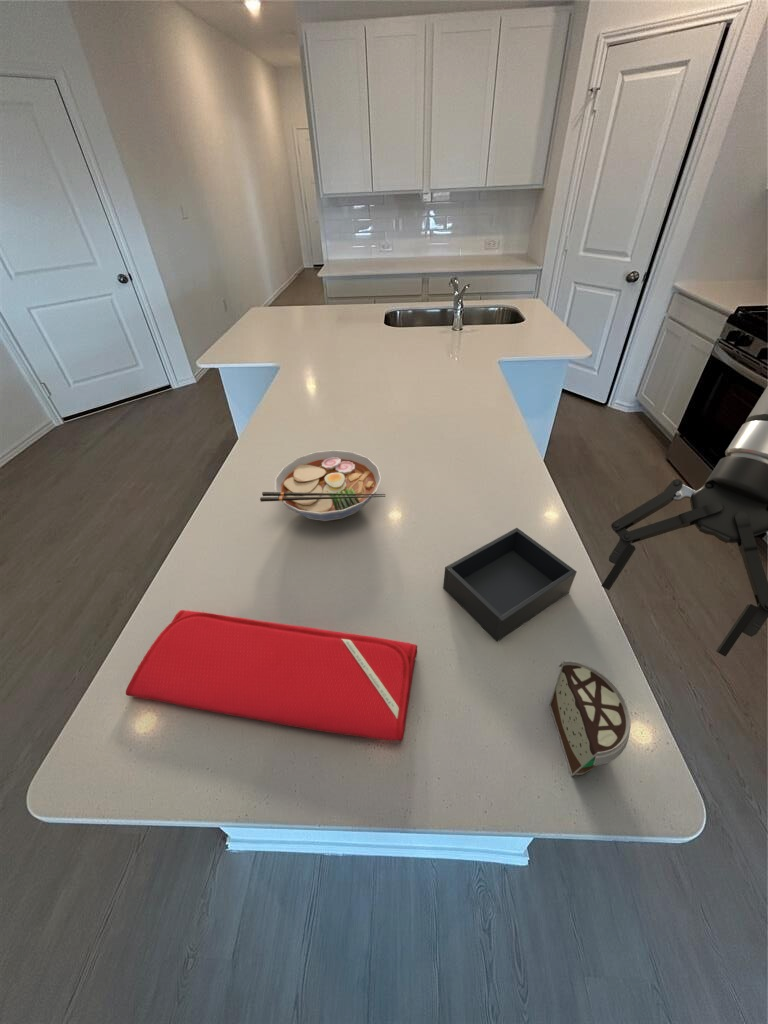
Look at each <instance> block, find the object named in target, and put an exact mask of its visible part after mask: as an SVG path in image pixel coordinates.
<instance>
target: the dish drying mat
mask: <svg viewBox="0 0 768 1024" xmlns="http://www.w3.org/2000/svg"><path fill="white" fill-rule="evenodd" d="M417 655H418V645H417V644H414V643H410V642H406V641H399V640H393V639H387V638H381V637H376V636H370V635H363V634H362V635H361V634H355V633H348V632H342V631H341V632H340V631H333V630H327V629H321V628H315V627H309V626H301V625H292V624H285V623H278V622H272V621H271V622H270V621H264V620H256V619H252V618H245V617H237V616H229V615H223V614H217V613H212V612H211V613H210V612H204V611H203V612H202V611H193V610H184V609H181V610H179V611H178V612H177V613H176V614H175V615H174V618H173V619H172V620H171V622H170V623H169V624H167V626H166V627H165V628H164V629H163V630H162V631H161V632H160V633H159V634H158V636H157V638H156V639H155V640H154V641H153V643H152V644H151V646H150V647H149V649H148V650H147V652H146V653H145V654H144V656H143V658H142V660H141V661H140V663H139V665H138V666H137V668H136V670H135V672H134V674H133V675H132V677H131V679H130V681H129V683H128V685H127V687H126V689H125V696H127V697H134V698H137V699H145V700H150V701H151V700H152V701H158V702H164V703H167V704H172V705H177V706H181V707H185V708H192V709H196V710H201V711H207V712H212V713H217V714H224V715H229V716H235V717H240V718H245V719H251V720H257V721H263V722H269V723H274V724H278V725H282V726H283V725H284V726H289V727H296V728H302V729H306V730H307V729H308V730H313V731H319V732H326V733H333V734H338V735H346V736H355V737H359V738H360V737H361V738H368V739H373V740H383V741H398V742H402V741H403V740H404V735H405V731H406V724H407V723H406V722H407V717H408V710H409V704H410V695H411V688H412V682H413V675H414V669H415V662H416V659H417Z"/></svg>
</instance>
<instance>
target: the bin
mask: <svg viewBox="0 0 768 1024" xmlns="http://www.w3.org/2000/svg"><path fill="white" fill-rule="evenodd" d="M576 575H577V570H575V569H574V568H573V567H572V566H570V565H569V564H567V563H566V562H564V561H563V560H562V559H561V558H559V557H558V556H556V555H555V554H554V553H553V552H551V551H550V550H548V549H547V548H546V547H544V546H543V545H541V544H540V543H539V542H538V541H536V540H535V539H533V538H532V537H530V535H527V533H525V532H524V531H522V530H521V529H519V528H518V527H515V528H514V529H512V530H510V531H508V532H506V533H504V534H503V535H500V536H499V537H497V538H495V539H493V540H491V541H490V542H488V543H486V544H484V545H483V546H481V547H479V548H477V549H475V550H473V551H472V552H470V553H468V554H466V555H465V556H462V557H461V558H459V559H458V560H456V561H453V562H452V563H450V564H448V565H447V566H445V567H444V575H443V576H444V577H443V584H442V585H443V586H442V588H443V590H444V591H446V593H448V594H449V596H451V597H452V598H453V600H454V601H456V603H457V604H458V605H459V606H460V607H461V608H462V609H463V610H464V611H466V613H468V614H469V615H470V617H472V619H473V620H475V622H477V623H478V625H479V626H480V627H481V628H483V629H484V631H485V632H486V633H487V634H488V635H490V636H491V638H492V639H494V641H496V642H499V641H500V640H502V639H503V638H505V637H506V636H508V635H509V634H510V633H512V632H514V631H515V630H516V629H518V628H519V627H521V626H522V625H524V624H525V623H527V622H528V621H530V620H531V619H532V618H534V617H535V616H537V615H538V614H540V613H541V612H543V611H544V610H546V609H547V608H549V607H550V606H552V605H553V604H555V603H556V602H558V601H559V600H561V599H562V598H563V597H565V596H566V595H568V594H569V593H570V590H571V588H572V586H573V582H574V580H575V578H576Z"/></svg>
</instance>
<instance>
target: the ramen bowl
mask: <svg viewBox="0 0 768 1024" xmlns="http://www.w3.org/2000/svg"><path fill="white" fill-rule="evenodd" d="M379 469H380V468H379V466H378V465H377V464H376V463H375V462H373V460H371V458H369V457H367V456H365V455H363V454H360V453H357V452H354V451H349V450H342V449H341V450H340V449H339V450H338V449H329V450H320V451H314V452H311V453H307V454H305V455H302V456H299V457H296V458H295V459H293V460H292V461H290V462H288V463H287V464H286V465H284V466H283V467H282V468H281V470H280V471H279V472H278V473H277V475H276V476H275V478H274V491H262V493H261V494H262V496H261V497H260V498H259V501H260V503H263V502H281V503H282V504H283V505H284V506H285V508H288V509H289V510H291V511H292V512H294V513H296V514H299V516H302V517H305V518H306V519H309V520H315V521H321V522H327V521H334V520H335V521H336V520H342V519H344V518H346V517H347V518H348V517H349V516H351V515H354V514H357V513H358V512H359V511H360V510H361V509H362V508H363V507H365V506H366V505H367V504H368V503H369V502H370V501H371V500H372V499H373V498H385V497H386V494H385V493H376V492H377V490H378V488H379V486H380V483H381V480H382V476H381V473H380V470H379Z"/></svg>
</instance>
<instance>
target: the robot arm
mask: <svg viewBox="0 0 768 1024" xmlns="http://www.w3.org/2000/svg"><path fill="white" fill-rule="evenodd" d="M724 454H725V456H724V457H722V458H720V459H719V460H718V462H717V464H716V465H715V467H714V468H713V470H712V472H711V473H710V475H708V478H707V479H706V481H705V482H704V484H703V485H702V486H701V487H700V488H698V489H697V490H695V489H693V488H691V487H689V486H687V485H685V484H684V483H683V481H682V479H679V478H675V479H673V480H671V482H670V483H669V484H668V486H667V487H666V488H665V489H664V491H661V492H660V493H659V494H657V495H656V496H654V497H652V498H651V499H649V500H648V501H647V500H646V501H645V502H644V503H642V504H641V505H639V506H637V507H636V508H634V509H633V510H631V511H629V512H628V513H626V514H624V515H623V516H621V517H619V518H618V519H616V520H615V521H613V522H612V523H611V525H610V527H611V529H612V531H613V532H614V533H615V534H616V535H617V536H618V538H619V540H618V542H617V543H616V545H615V546H614V549H613V550H612V551H611V553H610V555H609V556H608V562H609V563H611V564H613V567H612V568H611V569H610V572H609V573H608V574H607V576H606V578H605V579H604V581H603V582H602V584H601V587H602V588H604V589H605V590H607V591H610V590H611V588H612V587H613V585H614V584H615V583H616V581H617V579H618V577H619V576H620V574H621V573H622V571H623V570H624V568H625V566H627V563H628V562H629V560H630V559H631V557H632V556H633V554H634V553H635V551H636V546H635V545H633V544H635V543H637V542H641V541H644V540H647V539H648V540H649V539H650V538H653V537H654V538H655V537H657V536H660V535H663V534H666V533H670V532H674V531H676V530H679V529H683V528H685V529H686V528H688V527H691V526H695V527H696V529H697V530H698V531H699V532H700V533H703V534H705V535H709V536H714V537H715V538H716V539H718V540H719V541H721V542H723V543H725V544H728V543H729V544H736V545H737V547H738V551H739V554H740V555H741V558H742V562H743V565H744V567H745V571H746V574H747V577H748V581H749V584H750V587H751V590H752V593H753V596H754V600H755V604H756V605H754V604H752V603H749V604H747V605H746V606H745V607H744V609H743V611H741V613H740V615H739V616H738V618H737V619H736V621H735V622H734V623H733V625H732V627H731V628H730V630H729V631H728V633H727V634H726V636H724V638H723V640H722V641H721V643H720V644H719V646H718V647H717V649H716V650H715V652H716V653H718V654H720V655H721V656H723V657H725V658H726V657H727V655H728V654H729V652H730V651H731V650H732V648H733V647H734V645H735V644H736V642H737V641H738V639H740V636H741V635H742V633H743V634H745V635H746V636H748V637H754V636H756V635H757V634H758V633H759V631H760V630H761V628H762V627H763V625H764V624H765V623H766V621H767V620H768V578H767V575H766V571H765V568H764V566H763V563H762V562H763V561H762V560H761V557H760V553H759V550H758V543H757V541H756V538H755V537H757V536H760V535H763V534H766V533H768V385H766V388H765V389H764V390H763V393H762V394H761V396H760V397H759V399H758V400H757V402H756V403H755V405H754V407H753V408H752V409H751V412H750V413H749V415H748V416H747V418H746V419H745V422H744V423H743V424H742V425H741V426H740V428H739V429H738V431H737V433H736V434H735V435H734V437H733V439H732V440H731V442H730V444H729V445H728V447H727V448H726V450H725V451H724ZM684 499H689V503H690V508H691V509H690V510H688V511H684V512H682V513H680V514H677V515H675V516H672V517H669V518H666V519H663V520H662V519H661V520H660V521H656V522H653V523H650V524H647V525H644V526H641V527H638V528H635V529H632V530H628V529H630V528H631V527H633V526H634V525H636V524H638V523H639V522H641V521H643V520H645V519H646V518H648V517H650V516H651V515H653V514H655V513H657V512H658V511H659V510H662V509H663V508H665V507H667V506H668V505H669V504H671V503H672V502H673V501H675V502H680V501H682V500H684Z"/></svg>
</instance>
